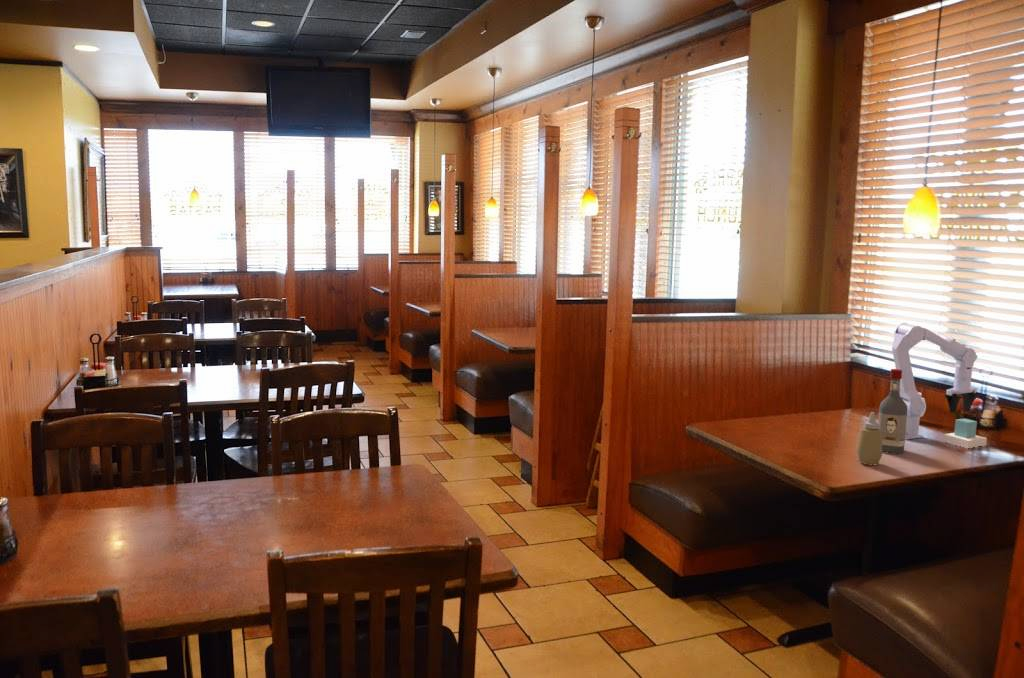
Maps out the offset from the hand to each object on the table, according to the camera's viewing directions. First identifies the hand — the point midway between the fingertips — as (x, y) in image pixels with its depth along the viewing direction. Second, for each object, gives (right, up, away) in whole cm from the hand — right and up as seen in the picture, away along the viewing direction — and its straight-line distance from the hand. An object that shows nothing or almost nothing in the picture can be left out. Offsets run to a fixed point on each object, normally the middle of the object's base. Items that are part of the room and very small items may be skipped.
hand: (959, 411), depth 314 cm
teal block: (-4, -8, -11) cm, 15 cm away
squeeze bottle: (-52, -15, -37) cm, 65 cm away
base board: (-4, -11, -11) cm, 16 cm away
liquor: (-37, -13, -21) cm, 44 cm away
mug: (-7, -6, +22) cm, 24 cm away
